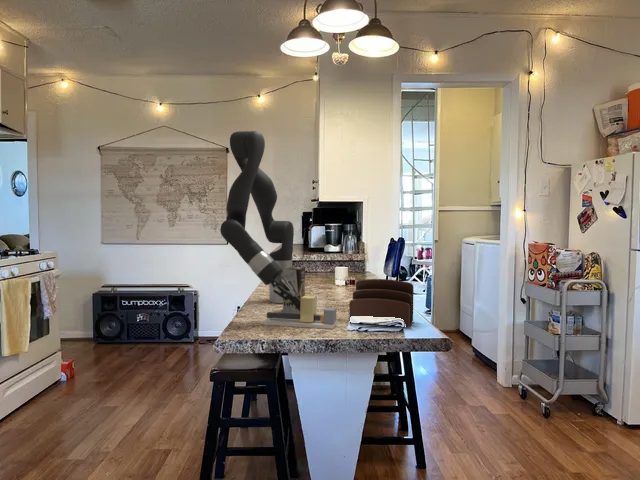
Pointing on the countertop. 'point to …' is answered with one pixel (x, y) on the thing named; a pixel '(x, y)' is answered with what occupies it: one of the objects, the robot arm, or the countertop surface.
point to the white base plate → (293, 319)
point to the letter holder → (383, 299)
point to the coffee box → (298, 281)
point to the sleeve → (308, 308)
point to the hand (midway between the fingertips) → (300, 306)
